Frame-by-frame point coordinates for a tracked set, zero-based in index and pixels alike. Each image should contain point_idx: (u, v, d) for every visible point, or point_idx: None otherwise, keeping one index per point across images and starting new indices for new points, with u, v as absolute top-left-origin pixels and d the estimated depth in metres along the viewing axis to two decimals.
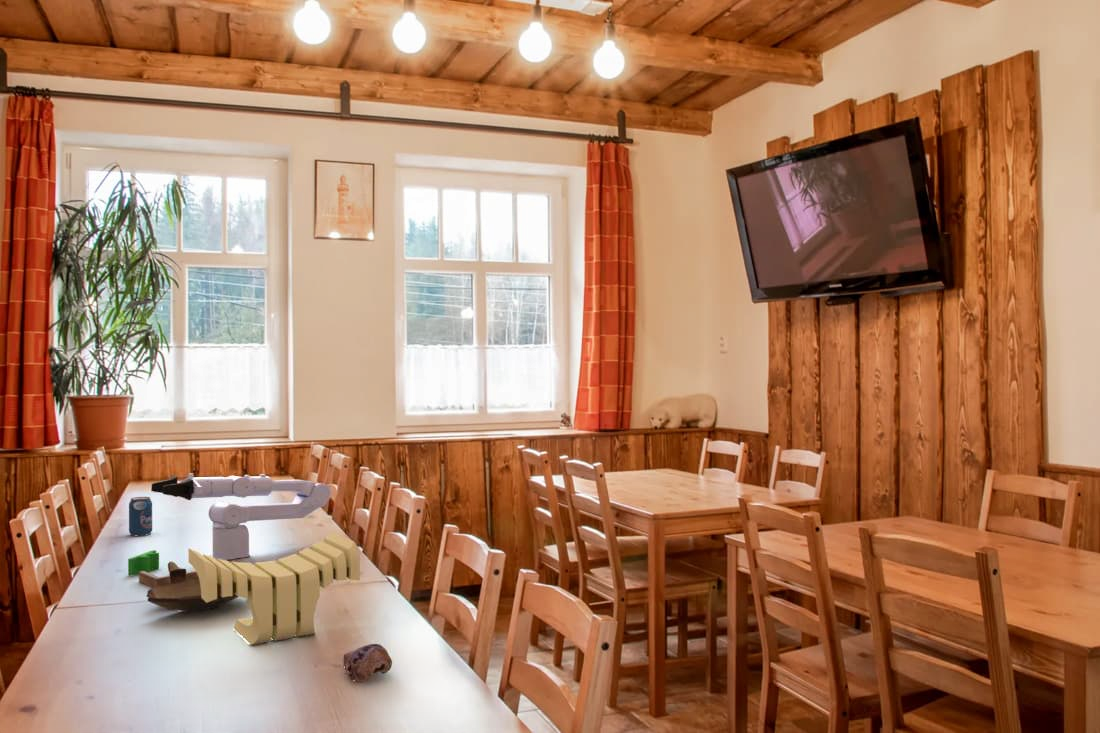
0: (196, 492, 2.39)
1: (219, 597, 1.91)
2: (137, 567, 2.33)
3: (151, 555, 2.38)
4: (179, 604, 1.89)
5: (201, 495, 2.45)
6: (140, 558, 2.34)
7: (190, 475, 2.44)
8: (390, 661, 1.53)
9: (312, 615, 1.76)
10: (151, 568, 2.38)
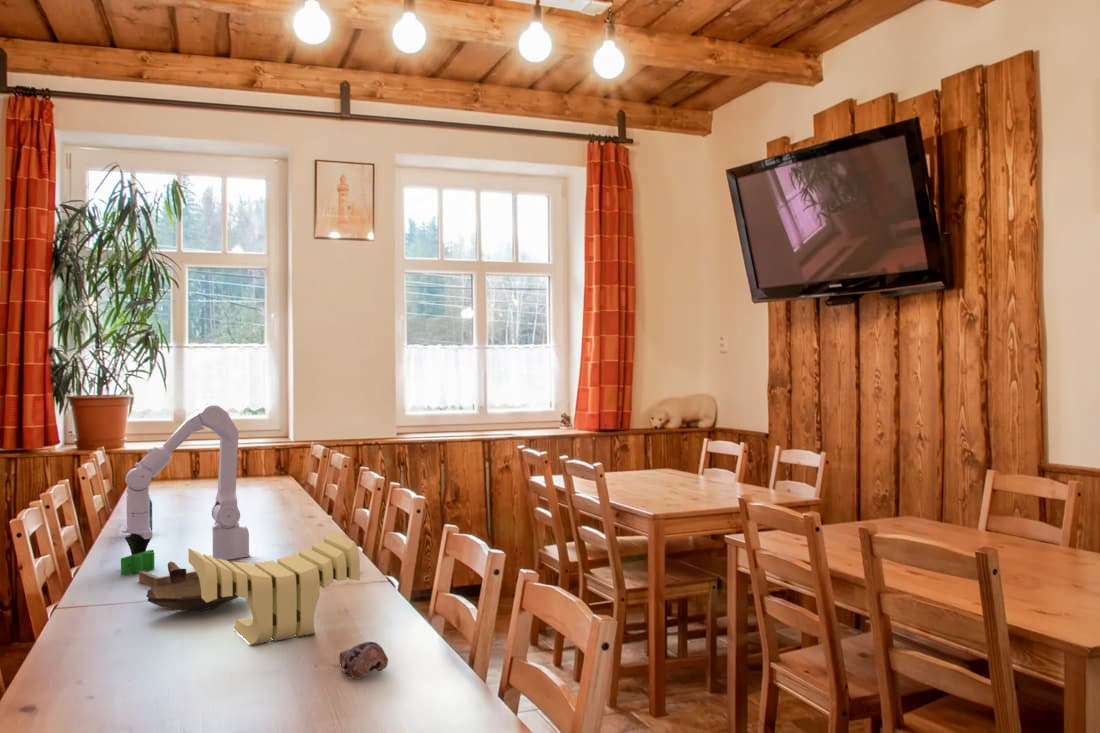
0: (150, 537, 2.36)
1: (219, 597, 1.91)
2: (130, 566, 2.33)
3: (146, 555, 2.37)
4: (179, 604, 1.89)
5: (148, 520, 2.41)
6: (134, 558, 2.34)
7: (125, 532, 2.38)
8: (386, 659, 1.54)
9: (312, 615, 1.76)
10: (146, 568, 2.37)
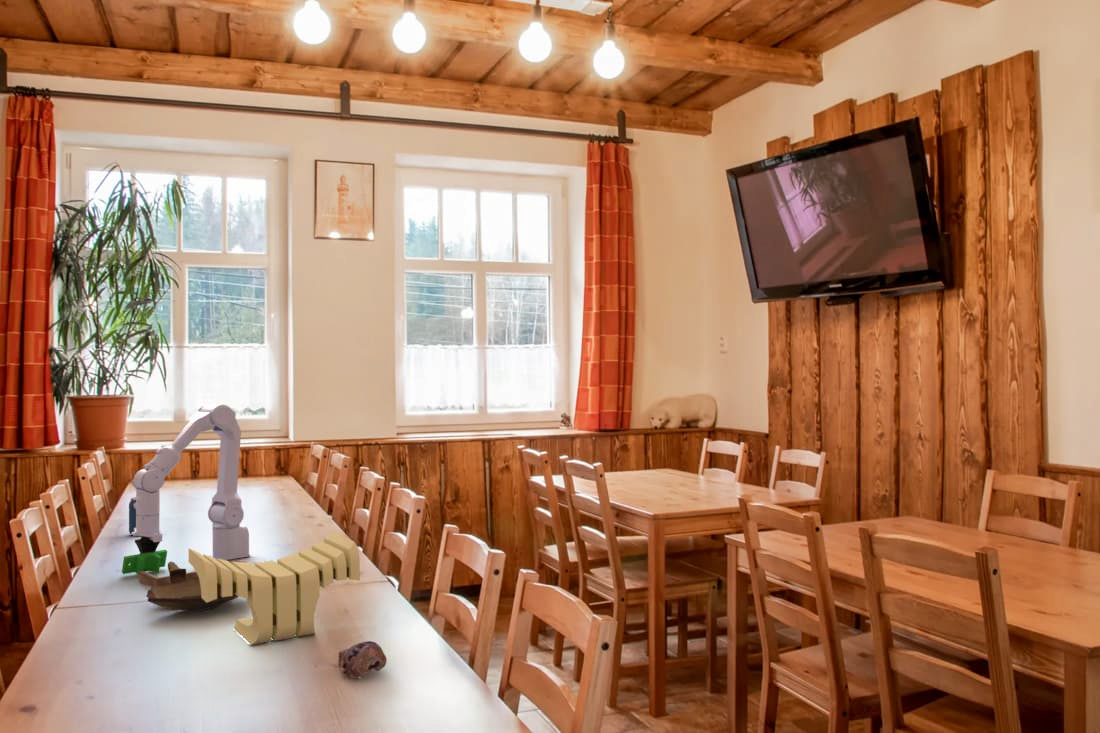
0: (160, 540, 2.31)
1: (219, 597, 1.91)
2: (133, 566, 2.31)
3: (153, 557, 2.33)
4: (179, 604, 1.89)
5: (158, 522, 2.36)
6: (137, 558, 2.31)
7: None
8: (384, 658, 1.54)
9: (312, 615, 1.76)
10: (151, 569, 2.34)
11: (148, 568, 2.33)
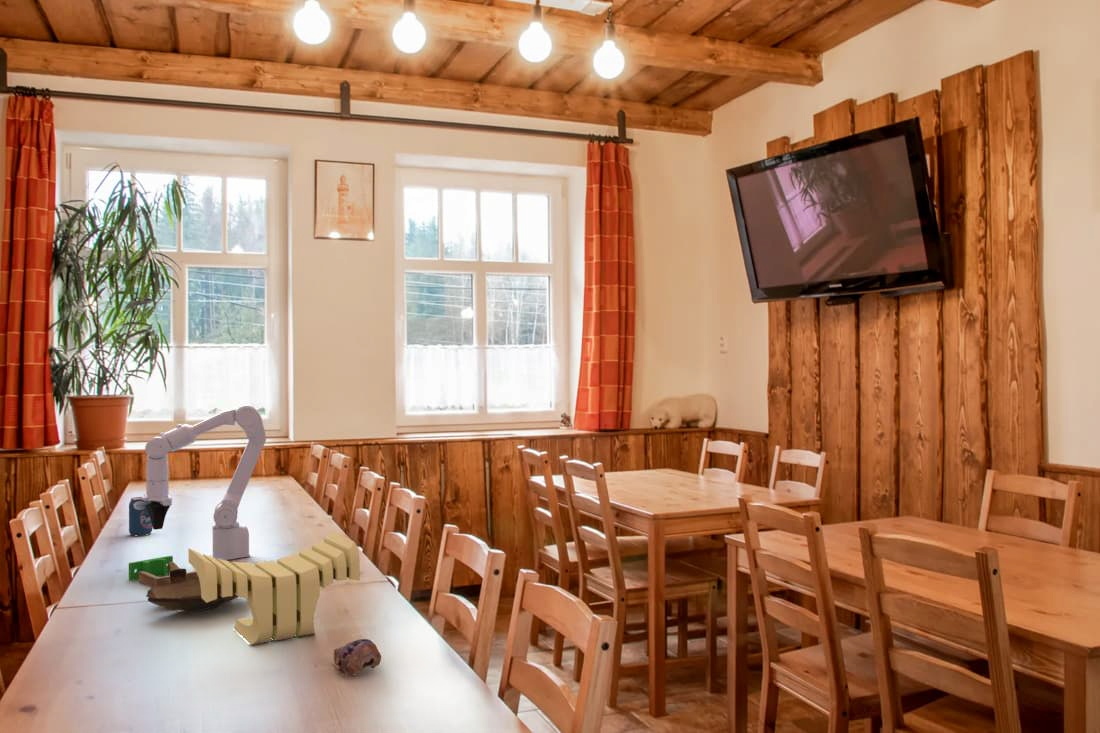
0: (170, 504, 2.42)
1: (219, 597, 1.91)
2: None
3: (159, 561, 2.30)
4: (179, 604, 1.89)
5: (167, 488, 2.46)
6: (143, 563, 2.28)
7: (145, 499, 2.43)
8: (379, 656, 1.55)
9: (312, 615, 1.76)
10: (159, 574, 2.30)
11: (155, 573, 2.30)
